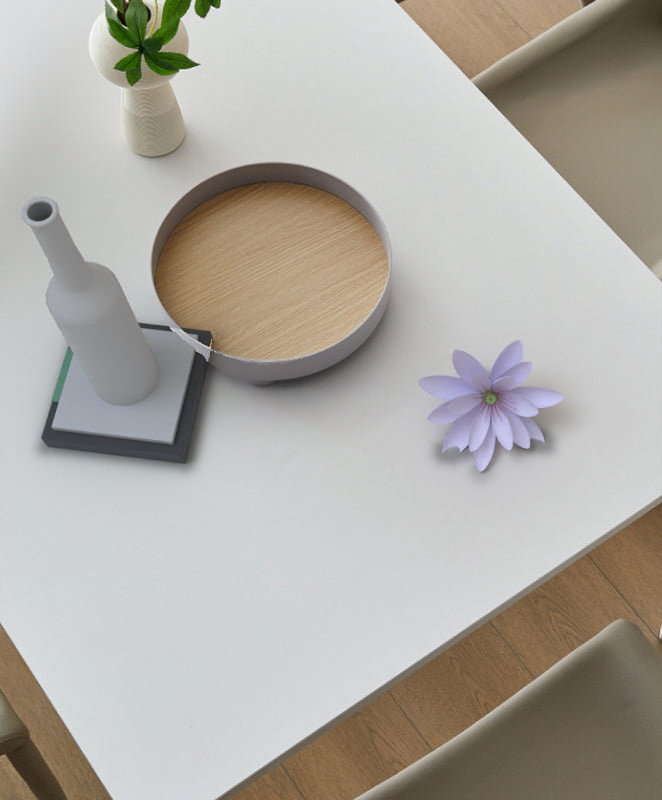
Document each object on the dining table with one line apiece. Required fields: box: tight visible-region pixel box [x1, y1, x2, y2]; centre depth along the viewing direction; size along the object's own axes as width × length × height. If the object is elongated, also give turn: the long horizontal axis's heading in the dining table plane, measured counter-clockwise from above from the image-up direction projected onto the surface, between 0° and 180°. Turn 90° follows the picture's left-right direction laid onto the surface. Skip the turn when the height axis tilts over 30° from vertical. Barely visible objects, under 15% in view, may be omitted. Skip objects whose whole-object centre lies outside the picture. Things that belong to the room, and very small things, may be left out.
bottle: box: [21, 196, 159, 406], centre depth 89 cm, size 7×7×28 cm
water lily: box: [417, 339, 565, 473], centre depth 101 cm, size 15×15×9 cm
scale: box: [40, 322, 214, 465], centre depth 103 cm, size 14×14×3 cm
